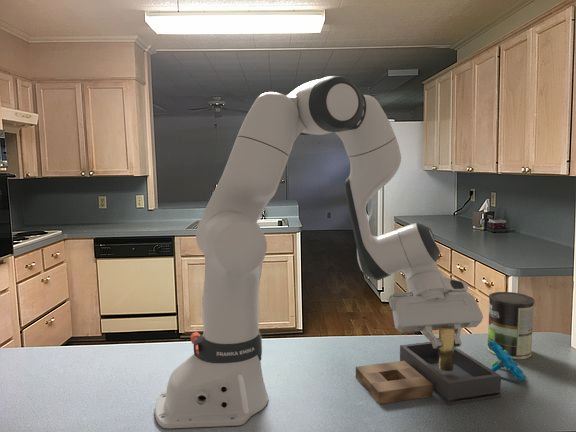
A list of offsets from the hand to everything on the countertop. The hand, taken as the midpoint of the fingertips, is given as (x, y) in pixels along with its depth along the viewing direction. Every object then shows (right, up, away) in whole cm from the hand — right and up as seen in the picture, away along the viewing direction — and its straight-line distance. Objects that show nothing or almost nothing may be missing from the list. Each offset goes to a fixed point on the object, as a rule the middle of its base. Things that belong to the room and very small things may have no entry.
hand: (447, 346), depth 99 cm
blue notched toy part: (+14, -8, +3) cm, 16 cm away
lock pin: (0, -5, +1) cm, 5 cm away
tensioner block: (-13, -8, -2) cm, 15 cm away
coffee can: (+21, -6, +16) cm, 27 cm away
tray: (0, -8, +1) cm, 8 cm away
